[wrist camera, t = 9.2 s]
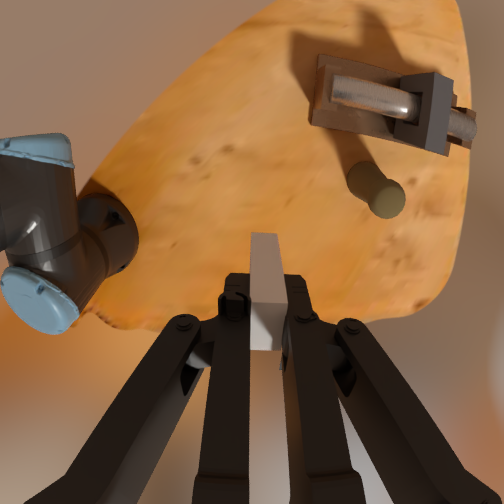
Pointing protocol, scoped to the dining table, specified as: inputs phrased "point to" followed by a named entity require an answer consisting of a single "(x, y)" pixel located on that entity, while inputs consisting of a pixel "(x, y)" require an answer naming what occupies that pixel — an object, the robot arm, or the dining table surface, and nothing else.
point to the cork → (376, 190)
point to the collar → (427, 111)
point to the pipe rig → (376, 103)
